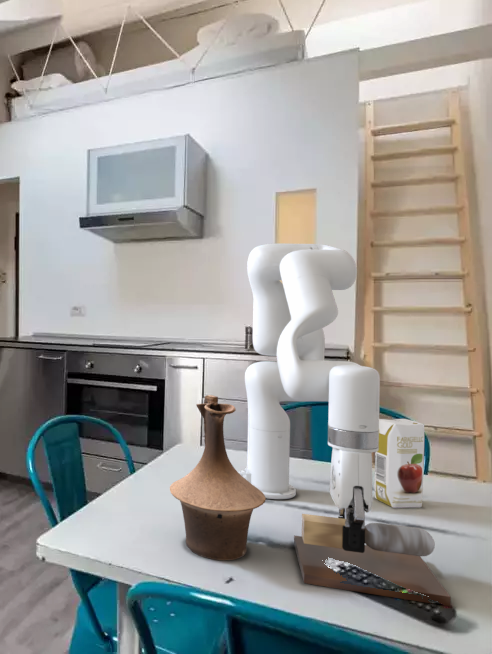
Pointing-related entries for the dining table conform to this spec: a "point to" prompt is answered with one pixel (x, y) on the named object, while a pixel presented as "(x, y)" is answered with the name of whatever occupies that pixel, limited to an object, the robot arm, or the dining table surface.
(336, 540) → the wood and marble capsule
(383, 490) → the juice carton
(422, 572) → the chopping board
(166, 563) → the dining table surface
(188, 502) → the pitcher
